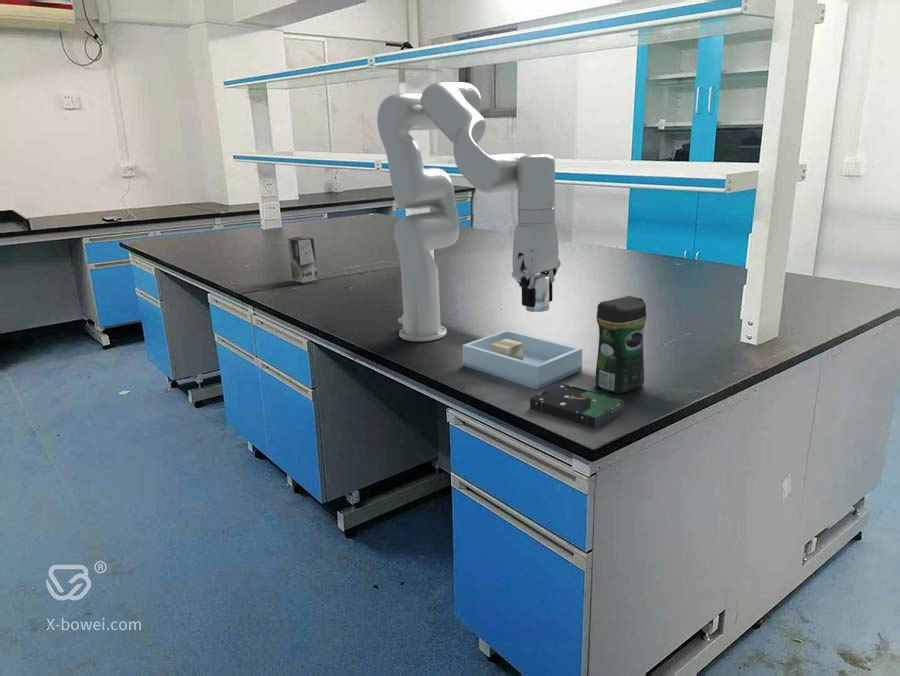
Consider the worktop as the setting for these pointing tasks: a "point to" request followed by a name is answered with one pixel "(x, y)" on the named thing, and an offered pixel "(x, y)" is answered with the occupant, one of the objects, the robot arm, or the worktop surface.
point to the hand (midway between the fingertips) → (537, 302)
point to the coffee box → (302, 258)
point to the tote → (524, 359)
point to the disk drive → (577, 405)
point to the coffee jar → (620, 344)
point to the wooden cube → (508, 348)
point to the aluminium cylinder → (540, 293)
